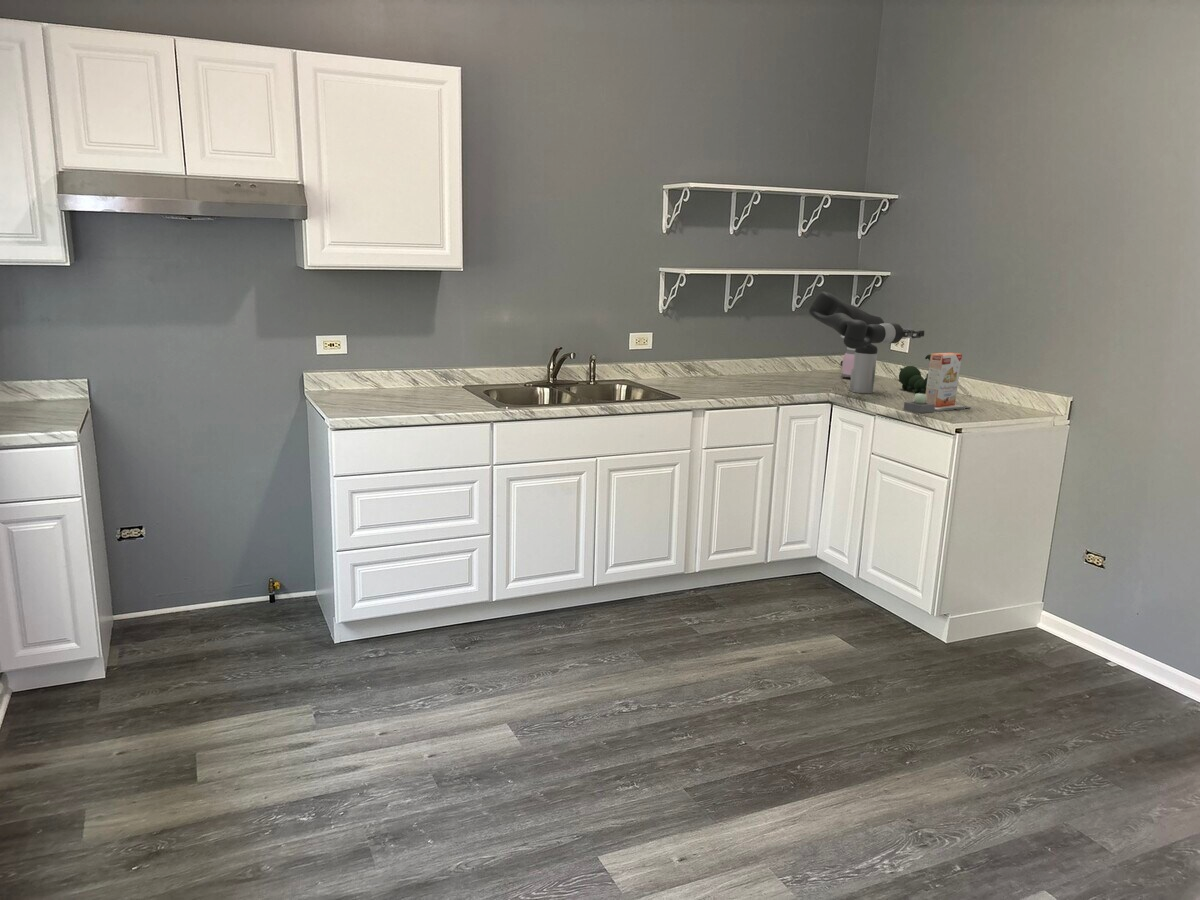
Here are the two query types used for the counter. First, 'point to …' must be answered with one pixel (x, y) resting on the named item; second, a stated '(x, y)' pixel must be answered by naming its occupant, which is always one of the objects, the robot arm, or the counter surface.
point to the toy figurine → (913, 378)
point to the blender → (847, 361)
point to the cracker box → (943, 378)
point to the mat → (950, 407)
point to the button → (920, 399)
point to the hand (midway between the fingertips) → (917, 332)
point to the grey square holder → (919, 407)
